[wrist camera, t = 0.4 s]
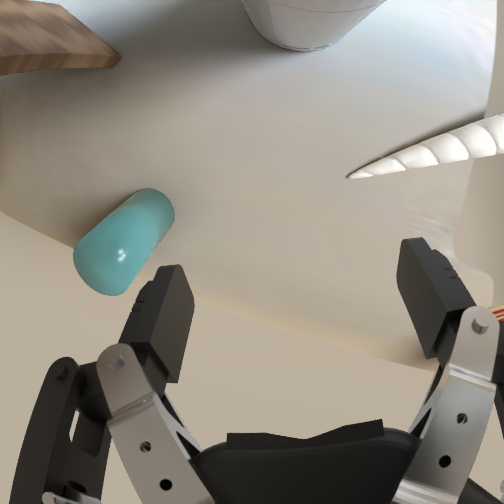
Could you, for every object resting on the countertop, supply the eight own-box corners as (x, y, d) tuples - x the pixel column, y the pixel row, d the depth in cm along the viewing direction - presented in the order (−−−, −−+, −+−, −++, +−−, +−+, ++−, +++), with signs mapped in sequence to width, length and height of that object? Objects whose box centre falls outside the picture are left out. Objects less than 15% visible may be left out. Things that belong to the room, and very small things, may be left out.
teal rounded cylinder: (123, 190, 30) (65, 238, 21) (169, 186, 30) (119, 236, 20) (134, 235, 33) (86, 293, 24) (178, 235, 32) (137, 298, 23)
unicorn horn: (335, 139, 26) (345, 149, 22) (518, 103, 19) (544, 110, 15) (349, 185, 28) (359, 203, 24) (522, 141, 21) (548, 153, 17)
